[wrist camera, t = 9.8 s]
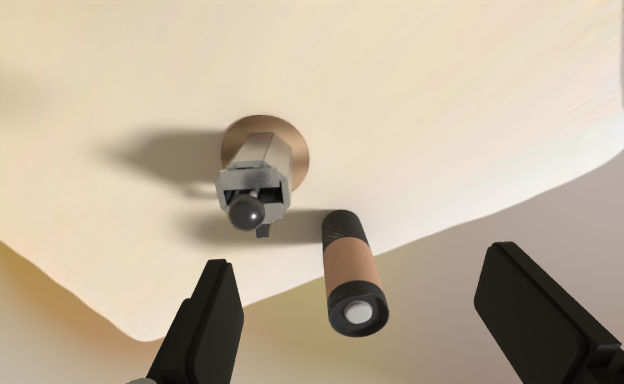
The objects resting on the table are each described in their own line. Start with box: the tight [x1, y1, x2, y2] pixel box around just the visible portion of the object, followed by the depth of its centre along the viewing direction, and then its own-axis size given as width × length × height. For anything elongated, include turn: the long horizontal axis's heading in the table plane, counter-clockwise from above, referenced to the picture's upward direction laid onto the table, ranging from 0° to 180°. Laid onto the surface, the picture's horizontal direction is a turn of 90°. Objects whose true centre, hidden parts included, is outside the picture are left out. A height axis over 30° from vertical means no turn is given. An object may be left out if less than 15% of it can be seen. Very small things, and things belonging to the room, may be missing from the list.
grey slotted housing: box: [215, 132, 294, 238], centre depth 41 cm, size 12×9×13 cm
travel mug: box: [322, 210, 389, 337], centre depth 44 cm, size 8×8×20 cm
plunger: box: [228, 166, 265, 232], centre depth 37 cm, size 6×6×15 cm
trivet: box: [222, 115, 309, 191], centre depth 47 cm, size 14×14×1 cm
